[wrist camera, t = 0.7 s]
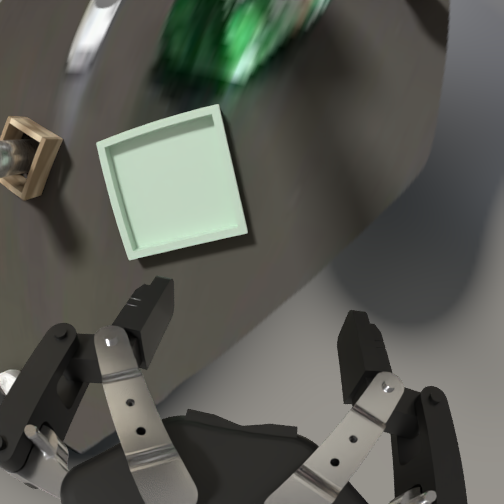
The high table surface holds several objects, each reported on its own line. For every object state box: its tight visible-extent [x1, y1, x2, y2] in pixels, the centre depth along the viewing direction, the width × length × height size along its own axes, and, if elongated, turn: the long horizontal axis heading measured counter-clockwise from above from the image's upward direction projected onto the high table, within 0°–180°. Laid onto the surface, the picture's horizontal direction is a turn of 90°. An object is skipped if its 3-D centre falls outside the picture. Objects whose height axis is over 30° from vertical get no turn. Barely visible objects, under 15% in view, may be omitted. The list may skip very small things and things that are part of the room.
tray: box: [96, 104, 248, 260], centre depth 36 cm, size 16×16×2 cm
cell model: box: [0, 370, 21, 395], centre depth 45 cm, size 10×12×7 cm
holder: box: [0, 116, 63, 201], centre depth 32 cm, size 9×9×4 cm
